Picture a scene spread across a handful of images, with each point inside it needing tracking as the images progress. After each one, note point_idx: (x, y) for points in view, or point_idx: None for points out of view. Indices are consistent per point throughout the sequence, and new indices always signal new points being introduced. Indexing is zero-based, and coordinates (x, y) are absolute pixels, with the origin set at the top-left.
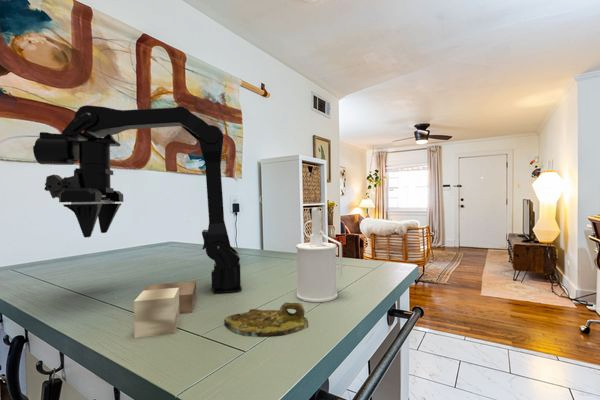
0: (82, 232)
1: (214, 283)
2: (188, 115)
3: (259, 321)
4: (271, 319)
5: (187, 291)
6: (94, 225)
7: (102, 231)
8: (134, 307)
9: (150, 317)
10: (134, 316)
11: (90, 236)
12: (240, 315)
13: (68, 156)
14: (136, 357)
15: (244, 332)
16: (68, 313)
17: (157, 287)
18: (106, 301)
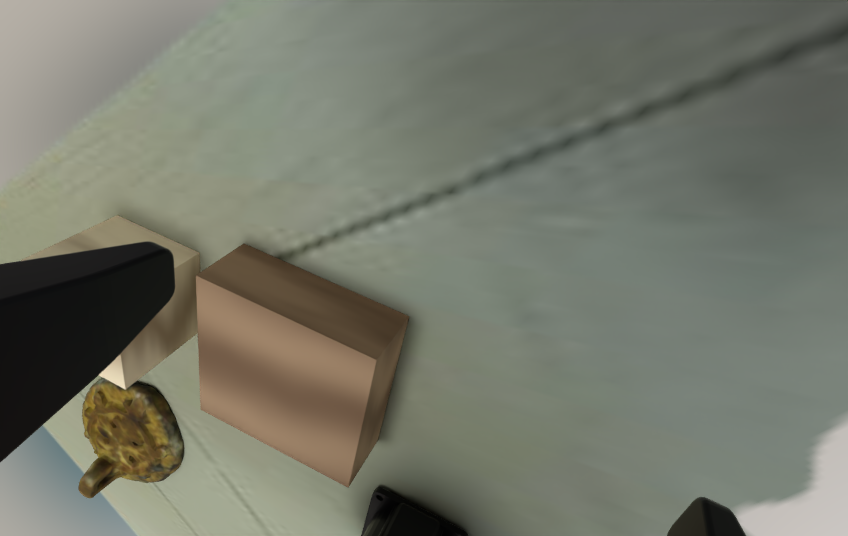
0: (85, 253)
1: (386, 523)
2: None
3: (100, 423)
4: (96, 438)
5: (231, 413)
6: (47, 410)
7: (690, 522)
8: (40, 252)
9: None
10: (65, 240)
11: (168, 297)
12: (132, 419)
13: None
14: (37, 203)
15: (92, 385)
16: (405, 5)
17: (315, 370)
18: (516, 174)
